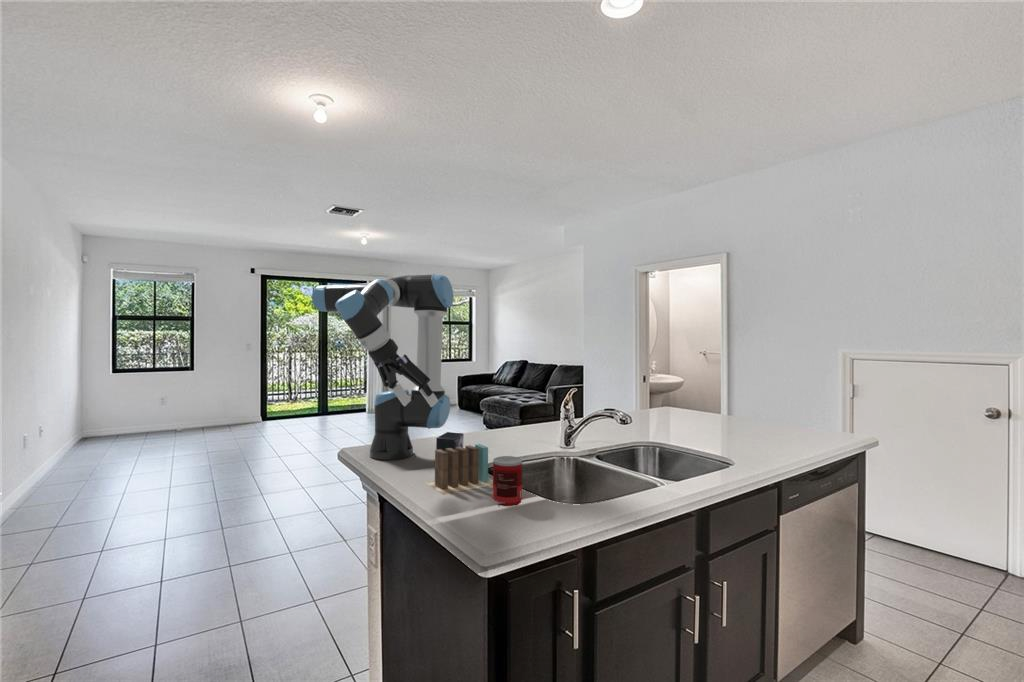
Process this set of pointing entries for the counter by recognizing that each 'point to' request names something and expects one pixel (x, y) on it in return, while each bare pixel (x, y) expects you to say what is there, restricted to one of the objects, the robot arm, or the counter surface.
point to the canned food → (507, 480)
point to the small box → (449, 441)
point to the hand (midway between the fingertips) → (420, 403)
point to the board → (461, 487)
